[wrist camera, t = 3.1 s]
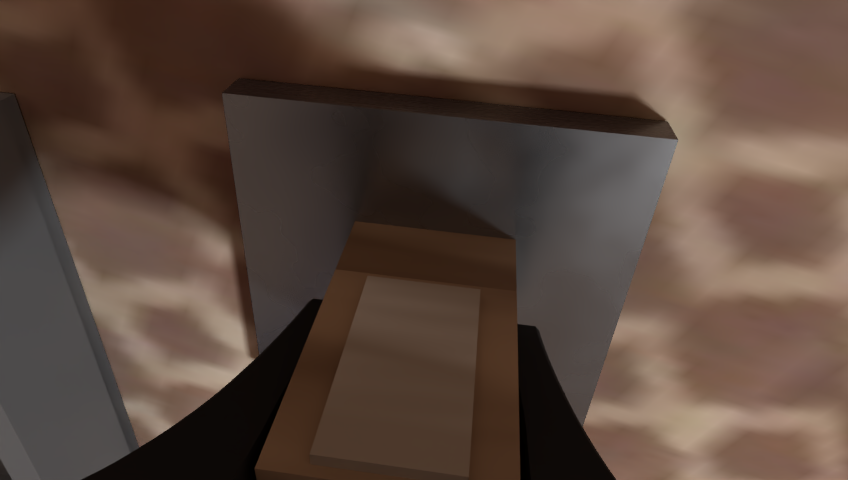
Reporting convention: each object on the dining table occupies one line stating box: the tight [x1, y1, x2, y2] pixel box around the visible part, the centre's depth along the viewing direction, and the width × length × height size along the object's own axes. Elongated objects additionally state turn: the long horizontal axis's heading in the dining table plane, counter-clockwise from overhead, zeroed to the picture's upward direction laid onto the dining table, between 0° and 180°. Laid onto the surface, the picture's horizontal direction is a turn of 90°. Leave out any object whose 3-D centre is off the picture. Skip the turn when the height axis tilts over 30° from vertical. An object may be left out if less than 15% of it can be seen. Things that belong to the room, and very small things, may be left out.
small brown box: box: [255, 221, 520, 480], centre depth 13 cm, size 4×4×7 cm
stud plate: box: [222, 78, 678, 427], centre depth 15 cm, size 10×10×3 cm
